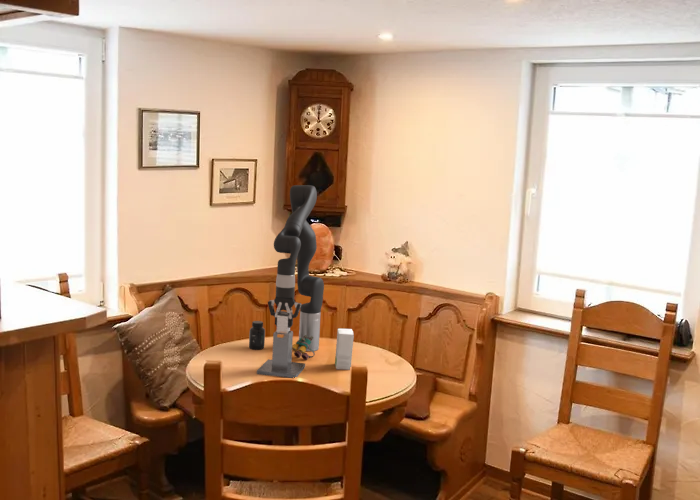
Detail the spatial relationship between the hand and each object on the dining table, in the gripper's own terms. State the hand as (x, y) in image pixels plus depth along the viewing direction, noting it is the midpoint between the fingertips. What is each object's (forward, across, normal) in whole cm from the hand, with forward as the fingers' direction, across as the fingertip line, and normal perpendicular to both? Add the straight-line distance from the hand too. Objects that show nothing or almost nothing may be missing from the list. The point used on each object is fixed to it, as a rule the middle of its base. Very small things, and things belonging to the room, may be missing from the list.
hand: (283, 326), depth 287 cm
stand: (+18, 0, 0) cm, 18 cm away
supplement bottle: (+19, +19, -27) cm, 38 cm away
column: (+15, 0, 0) cm, 15 cm away
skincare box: (+19, -23, -14) cm, 33 cm away
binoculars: (+19, -4, -19) cm, 27 cm away
